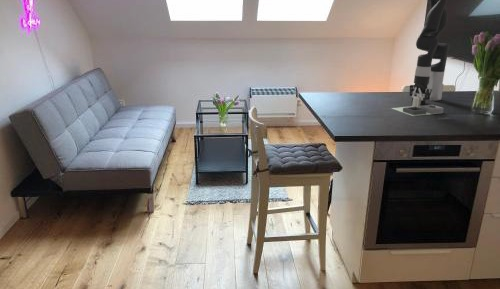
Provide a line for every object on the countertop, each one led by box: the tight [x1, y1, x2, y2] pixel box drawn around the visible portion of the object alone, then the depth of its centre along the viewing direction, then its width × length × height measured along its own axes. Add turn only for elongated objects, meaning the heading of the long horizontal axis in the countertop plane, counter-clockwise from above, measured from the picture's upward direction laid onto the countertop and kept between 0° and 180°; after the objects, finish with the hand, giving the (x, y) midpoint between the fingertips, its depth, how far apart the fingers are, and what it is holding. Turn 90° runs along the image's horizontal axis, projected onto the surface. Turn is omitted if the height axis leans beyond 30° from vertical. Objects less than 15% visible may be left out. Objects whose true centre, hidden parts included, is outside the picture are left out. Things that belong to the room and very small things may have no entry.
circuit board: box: [390, 104, 444, 117], centre depth 216 cm, size 20×17×4 cm
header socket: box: [402, 106, 426, 115], centre depth 212 cm, size 8×8×2 cm
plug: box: [411, 96, 424, 108], centre depth 221 cm, size 5×4×6 cm
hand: (417, 105), depth 222 cm, fingers open, 6 cm apart
